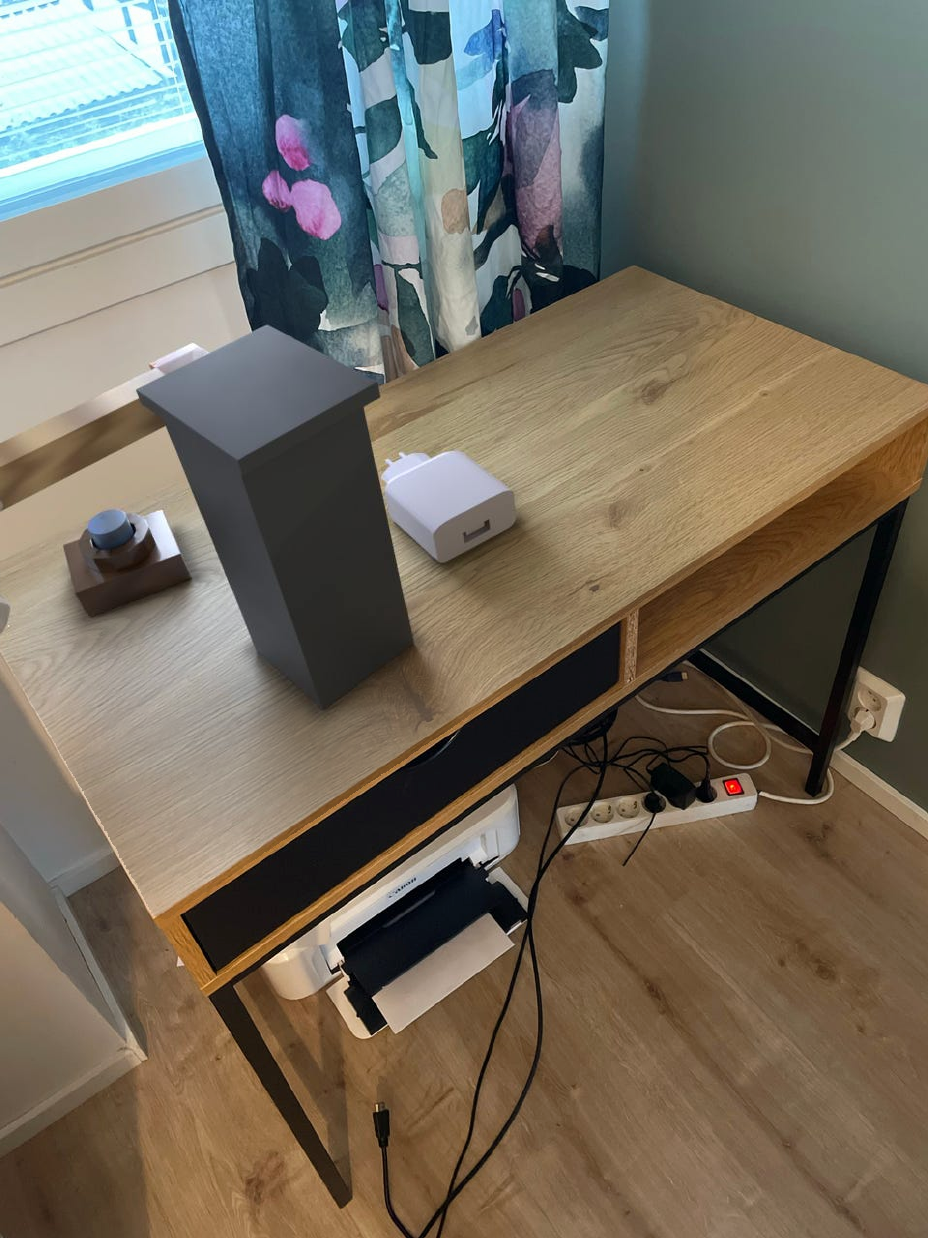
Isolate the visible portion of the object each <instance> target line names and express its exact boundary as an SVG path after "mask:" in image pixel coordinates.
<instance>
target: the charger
mask: <svg viewBox="0 0 928 1238" xmlns="http://www.w3.org/2000/svg"><path fill="white" fill-rule="evenodd" d="M398 456H399V457H400V458H399V459H397V460H395V461H392V460H391V459H390V458H386V459H385V460H384V462H385V463H386V465H388V467H387V468H386V469H385V471H383V473H382V475H381V476H380V478H381V480H383V481H384V482H385V483H386V486H385V487H384V497H385V501H386V505H387V510H388V515H389V518H390V519H391V520H392V521H394V522H395V524H397V526H399V527H400V528H401V529H402V530H403V531H404V532H405V533H406V534H408V535H409V537H411V538H412V540H414V541H415V542H416V543H417V544H418V545H420V546H421V548H422V549H424V550H425V551H426V553H428V554H429V555H430V556H431V557H432V558H433V559H434V560H436V561H437V563H440V564H442V563H443V564H444V563H447V562H448V561H451V560H453V559H454V558H456V557H458V556H460V555H462V554H464V553H466V552H468V551H469V550H471V549H473V548H475V547H477V546H478V545H481V544H482V543H483V542H486V541H488V540H489V539H491V538H493V537H495V536H497V535H499V534H500V533H502V532H504V531H506V530H508V529H510V528H511V527H512V526H513V525H514V524H515V522H516V521H517V513H516V501H515V499H516V498H515V492H514V490H512V489H511V488H510V487H509V486H507V485H506V484H504V483H503V482H502V481H501V480H499V479H498V478H497V477H495V476H494V475H492V474H491V473H490V472H488V471H487V470H486V469H485V468H484V467H482V466H480V465H479V464H478V463H477V462H476V461H474V460H473V459H472V458H470V457H469V456H468V455H466V454H465V453H464V452H463V451H461V450H451V451H450V450H449V451H444V452H442V453H439V454H438V455H435V456H434V457H431V456H429V455H428V454H426V453H425V452H412V453H409V454H408V455H407V454H406V453H405V452H403V451H400V452H399V453H398Z"/></svg>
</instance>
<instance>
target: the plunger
mask: <svg viewBox="0 0 928 1238" xmlns="http://www.w3.org/2000/svg"><path fill="white" fill-rule="evenodd" d="M125 513H126V512H124V511H122V510H121V509H114V508H113V509H107V510H103V511H101V512H98V513H97V514H95V515H94V516H93V517H91V518H90V520H89V521H88V523H87V528H88V531H89V533H90V535H91V536H92V538H93V540H94V542H95V544H96V546H97V547H98V548H99V549H101V550H112V549H115V548H117V547H120V546H123V545H124V544H126V543H127V542H128V541H129V540H131V539H132V538H133V535H134V531H133V529H132V527H131V525H130V523H129V521H128V519H127V517H126V514H125ZM87 528H86V529H87Z"/></svg>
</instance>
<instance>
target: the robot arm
mask: <svg viewBox="0 0 928 1238" xmlns="http://www.w3.org/2000/svg"><path fill="white" fill-rule="evenodd" d="M2 508H3V504H2V502H1V501H0V511H1V510H2ZM1 512H2V511H1ZM10 612H11V606H10V604H9V603H8V601H7V600H6V599H5V598H4V596H3V595H2V594H1V593H0V635H1V634H2V633H3V632H4V630H5V629H6V627H7V624H8V621H9V618H10Z"/></svg>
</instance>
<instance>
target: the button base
mask: <svg viewBox="0 0 928 1238" xmlns="http://www.w3.org/2000/svg"><path fill="white" fill-rule="evenodd" d="M124 513H125V514H126V517H127V519H128V521H129V523H130V525H131V527H132V529H133V531H134V535H133V538H132V539H131V540H129V541H128V542H127V543H126V544H124V545H123V546H120V547H117V548H115V549H112V550H101V549H99V548H98V547H97V546H96V544H95V542H94V540H93V538H92V536H91V535H90V533H89V531H88V528H86V529H84V531H82V534H81V536H80V538H79V539H76V540H73V541H70V542H68V543H64V544H63V545H62V548H63V552H64V557H65V560H66V563H67V567H68V572H69V575H70V580H71V583H72V587H73V591H74V594H75V596H76V597H77V600H78V601H79V603H80V605H81V606H82V608H83V610H84V611H85V613H86V615H87V617H88V618H91V617H93V616H96V615H99V614H102V613H105V612H107V611H109V610H112V609H115V608H117V607H119V606H120V607H121V606H122V605H125V604H128V603H130V602H133V601H135V600H138V599H141V598H144V597H146V596H149V595H151V594H153V593H156V592H159V591H162V590H164V589H167V588H169V587H172V586H174V585H177V584H180V583H183V582H185V581H187V580H190V579H192V576H191V573H190V571H189V569H188V566H187V563H186V561H185V559H184V556H183V554H182V552H181V548H180V546H179V545H178V541H177V539H176V536H175V534H174V532H173V530H172V527H171V525H170V523H169V520H168V518H167V516H166V514H165V511H164V509H158V510H157V511H152V512H151V513H148V514H145V515H143V516H142V515H139V514H137V513H135V512H124Z"/></svg>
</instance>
